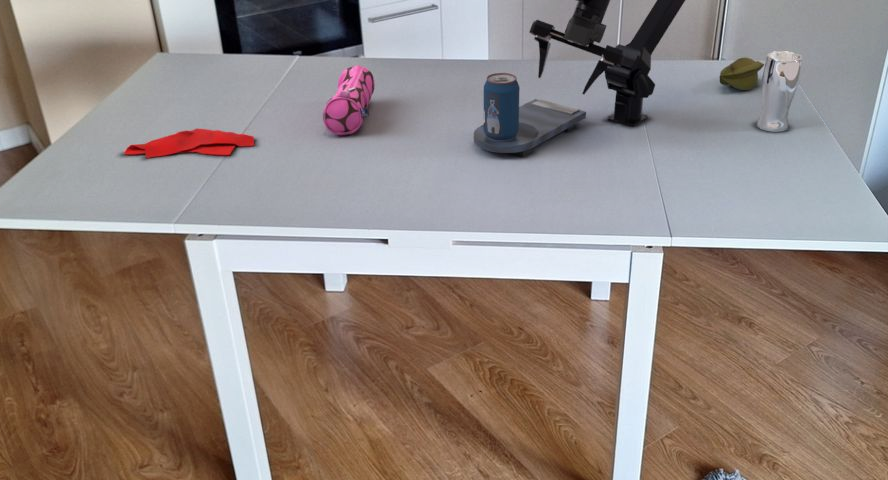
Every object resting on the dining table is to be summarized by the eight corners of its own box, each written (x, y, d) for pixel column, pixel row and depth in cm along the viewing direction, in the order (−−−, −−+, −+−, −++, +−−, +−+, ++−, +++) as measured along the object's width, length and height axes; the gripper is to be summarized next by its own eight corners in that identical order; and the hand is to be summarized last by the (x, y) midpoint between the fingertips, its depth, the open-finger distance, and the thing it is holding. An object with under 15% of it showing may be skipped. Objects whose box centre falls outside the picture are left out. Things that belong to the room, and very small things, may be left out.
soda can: (517, 129, 182) (518, 71, 176) (519, 142, 176) (521, 83, 170) (482, 129, 182) (482, 72, 176) (484, 143, 176) (484, 84, 170)
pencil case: (370, 137, 188) (367, 91, 183) (324, 138, 188) (319, 92, 183) (379, 101, 206) (376, 58, 201) (337, 102, 207) (333, 59, 201)
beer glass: (749, 121, 190) (760, 51, 182) (781, 119, 190) (794, 49, 183) (762, 133, 184) (774, 62, 176) (795, 132, 185) (809, 60, 177)
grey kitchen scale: (534, 111, 198) (535, 97, 196) (585, 125, 191) (586, 110, 189) (460, 149, 181) (460, 134, 180) (513, 165, 174) (513, 149, 172)
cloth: (261, 130, 193) (260, 120, 192) (248, 156, 181) (247, 146, 180) (141, 132, 194) (139, 122, 193) (120, 158, 182) (118, 148, 181)
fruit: (771, 94, 204) (776, 65, 200) (718, 95, 204) (722, 67, 200) (756, 77, 213) (761, 50, 210) (705, 78, 214) (709, 51, 210)
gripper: (542, -14, 166) (512, 67, 170) (638, 20, 164) (605, 102, 168) (547, -7, 177) (518, 70, 181) (637, 26, 175) (606, 102, 178)
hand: (561, 86), depth 177 cm, fingers open, 9 cm apart
